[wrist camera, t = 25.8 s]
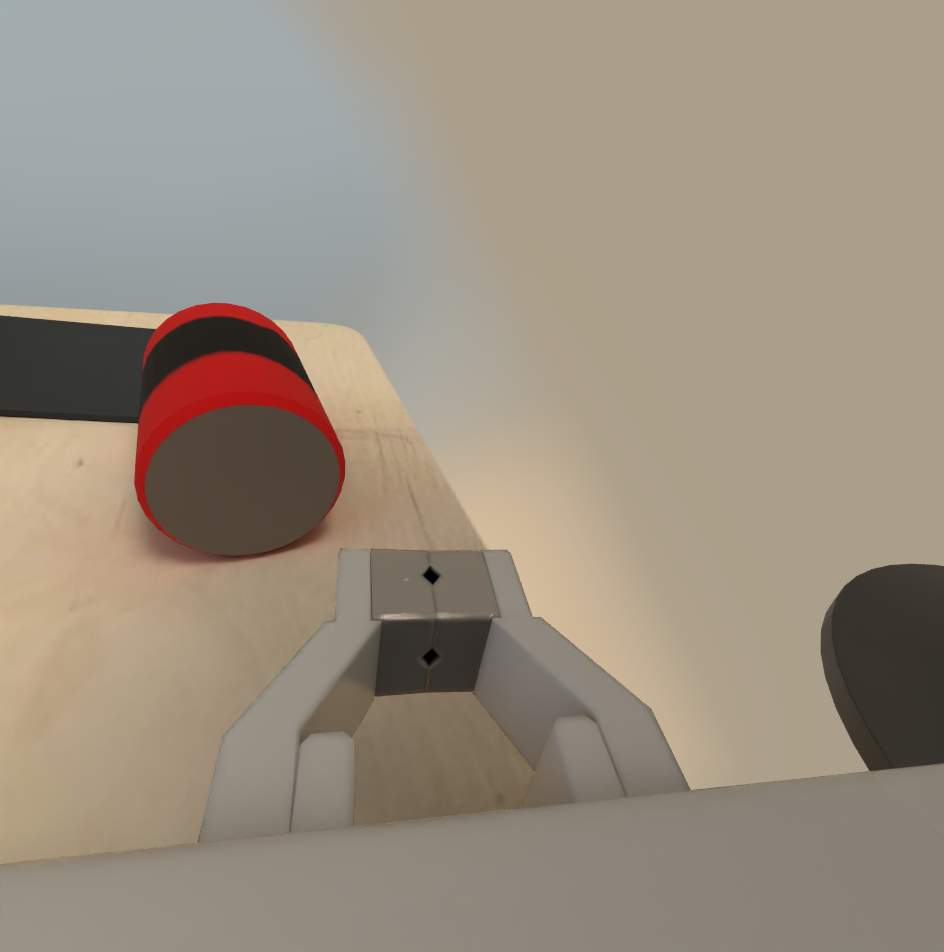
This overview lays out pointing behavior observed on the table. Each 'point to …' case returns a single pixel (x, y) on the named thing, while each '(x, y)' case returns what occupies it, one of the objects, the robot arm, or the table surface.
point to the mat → (71, 369)
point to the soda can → (232, 434)
